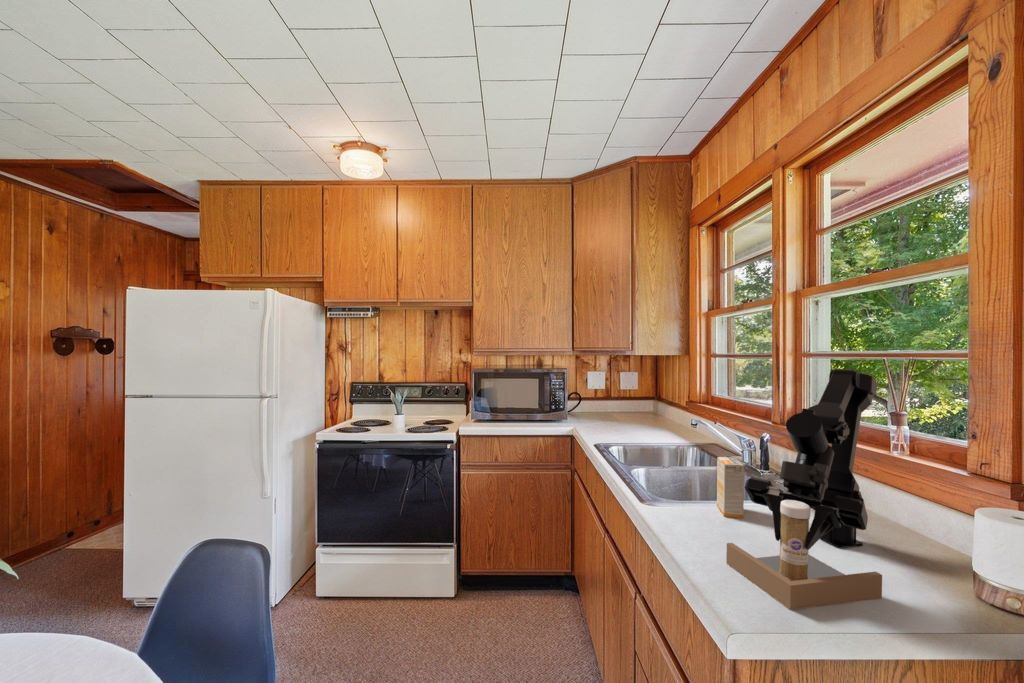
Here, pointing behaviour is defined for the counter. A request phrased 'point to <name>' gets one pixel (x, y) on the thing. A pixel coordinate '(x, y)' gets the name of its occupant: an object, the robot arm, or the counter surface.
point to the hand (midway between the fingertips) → (791, 543)
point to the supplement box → (730, 486)
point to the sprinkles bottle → (794, 539)
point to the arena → (805, 581)
